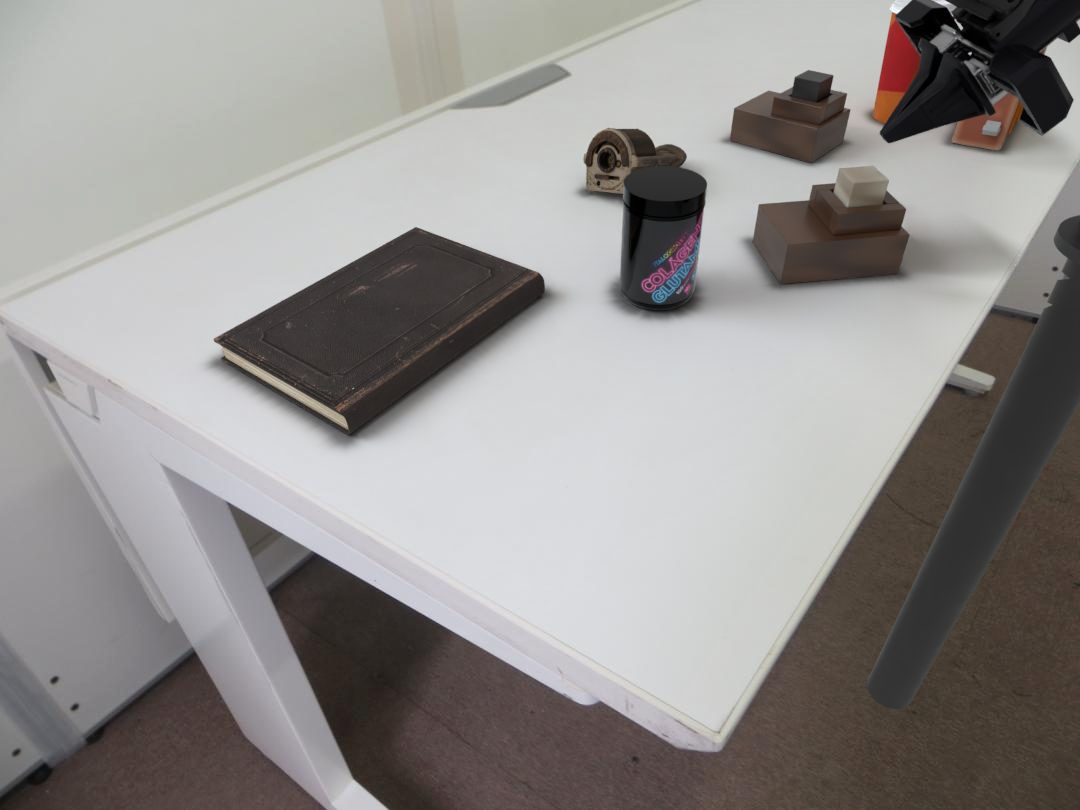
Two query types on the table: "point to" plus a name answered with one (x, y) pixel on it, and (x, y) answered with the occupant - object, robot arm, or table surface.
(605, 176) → the mechanical counter
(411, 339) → the hardcover book
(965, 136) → the control panel
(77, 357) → the table surface
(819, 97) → the black key
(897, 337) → the table surface
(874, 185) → the ivory key
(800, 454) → the table surface
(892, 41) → the paper cup
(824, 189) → the brown push button box
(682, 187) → the supplement container
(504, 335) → the table surface
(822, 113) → the push button base
